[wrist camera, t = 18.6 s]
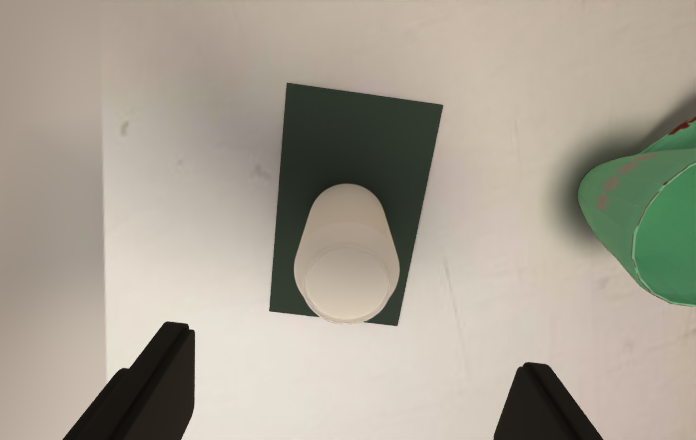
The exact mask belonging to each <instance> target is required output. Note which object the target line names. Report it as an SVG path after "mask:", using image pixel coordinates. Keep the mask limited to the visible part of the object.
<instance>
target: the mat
mask: <svg viewBox="0 0 696 440" xmlns="http://www.w3.org/2000/svg"><path fill="white" fill-rule="evenodd" d="M442 109H443V105H439V104H432V103H425V102H418V101H411V100H404V99H397V98H390V97H383V96H376V95H369V94H362V93H355V92H348V91H341V90H334V89H327V88H320V87H313V86H306V85H298V84H291V83H287V88H286V101H285V114H284V127H283V140H282V153H281V166H280V179H279V192H278V205H277V218H276V231H275V244H274V257H273V270H272V283H271V296H270V309H269V311H271V312H280V313H289V314H297V315H306V316H315V317H319V316H318V315H317V314H316V313H314V312H313V311H312V310H311V308H310V307H309V306H308V304H307V303H306V301H305V298H304V297H303V295H302V294H301V292H300V291H299V289H298V287H297V284H296V281H295V276H294V263H295V258H296V254H297V251H298V248H299V245H300V241H301V238H302V235H303V232H304V229H305V226H306V222H307V219H308V216H309V213H310V210H311V208H312V205H313V203H314V202H315V200H316V199H317V197H318V196H319V195H320V194H321V193H322V192H324V191H325V190H326V189H328V188H330V187H332V186H335V185H339V184H355V185H359V186H362V187H364V188H366V189H368V190H369V191H370V192H372V193H373V194H374V195H375V196H376V197H377V199H378V200H379V202H380V203H381V205H382V208H383V210H384V213H385V216H386V220H387V223H388V226H389V229H390V233H391V236H392V239H393V243H394V246H395V249H396V253H397V256H398V260H399V267H400V272H399V279H398V283H397V285H396V288H395V290H394V292H393V293H392V295H391V296H390V297H389V299H388V301H387V303H386V305H385V306H384V308H383V309H382V310H381V311H380V312H379V313H378V314H377V315H375V316H374V317H372V318H371V319H369V320H367V321H364V322H367V323H375V324H384V325H393V326H397V325H398V320H399V316H400V311H401V306H402V301H403V296H404V292H405V287H406V282H407V277H408V272H409V268H410V263H411V258H412V253H413V248H414V243H415V239H416V234H417V229H418V224H419V219H420V215H421V210H422V205H423V200H424V195H425V190H426V186H427V181H428V176H429V171H430V166H431V162H432V157H433V152H434V147H435V142H436V138H437V133H438V128H439V123H440V118H441V113H442Z"/></svg>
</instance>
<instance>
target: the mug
mask: <svg viewBox="0 0 696 440" xmlns="http://www.w3.org/2000/svg"><path fill="white" fill-rule="evenodd" d="M578 202H579V205H580V208H581V210H582V212H583V214H584V217H585V219H586V221H587V223H588V224H589V226H590V227H591V229H592V230H593V232H594V233H595V235H596V237H597V238H598V239H599V240H600V242H601V243H602V244H603V245H604V246H605V247H606V249H607V250H608V251H609V252H610V253H611V254H612V255H613V256H614V257H616V258H617V260H618V261H619V262H620V263H621V265H622V266H623V267H624V268H625V269H626V271H627V272H628V273H629V274H630V275H631V276H632V277H633V279H634V280H635V281H636V282H637V283H638V284H639V285H640V286H641V287H642V288H643V289H645V290H646V291H648V292H649V293H651V294H652V295H654V296H656V297H658V298H660V299H662V300H664V301H666V302H668V303H670V304H676V305H684V306H691V307H696V117H694V118H692V119H690V120H687V121H685V122H684V123H682V124H681V125H679V126H678V127H677V128H675V129H674V130H672V131H671V132H669V133H668V134H666V135H665V136H663V137H662V138H661V139H659V140H658V141H656V142H655V143H653V144H652V145H650V146H649V147H647V148H646V149H644V150H643V151H642V152H640V153H639V154H637V155H632V156H627V157H622V158H618V159H615V160H612V161H608V162H605V163H602V164H600V165H598V166H596V167H594V168H593V169H592V170H590V171H589V172H588V173H587V174H586V175H585V177H584V178H583V180H582V181H581V183H580V186H579V189H578Z"/></svg>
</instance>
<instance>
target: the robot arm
mask: <svg viewBox="0 0 696 440" xmlns="http://www.w3.org/2000/svg"><path fill="white" fill-rule="evenodd" d="M194 391H195V332H194V330H190V329H189V326H188V324H185V323H176V322H165V323H164V324H163V325H162V327H161V328H160V329H159V330H158V332H157V333H156V334H155V336H154V337H153V338H152V340H151V341H150V342H149V344H148V345H147V346H146V347H145V349H144V350H143V351H142V353H141V354H140V355H139V357H138V358H137V359H136V361H135V362H134V363H133V364H132V366H131V367H130V368H129V369H127V368H122V369H120V370H119V371H118V372H117V373H116V374H115V375H114V376H113V377H112V379H111V380H110V381H109V382H108V384H107V385H106V386H105V387H104V389H103V390H102V391H101V392H100V393H99V395H98V396H97V397H96V399H95V400H94V401H93V402H92V403H91V405H90V406H89V407H88V409H87V410H86V411H85V412H84V413H83V415H82V416H81V417H80V419H79V420H78V421H77V422H76V424H75V425H74V426H73V427H72V428H71V430H70V431H69V432H68V434H67V435H66V436H65V437H64V438H63V440H181V439H182V436H183V434H184V432H185V430H186V428H187V426H188V424H189V421H190V419H191V417H192V414H193V410H194ZM494 440H603V438H602V437H601V436H600V434H599V433H598V432H597V430H596V429H595V427H594V426H593V425H592V423H591V422H590V421H589V419H588V418H587V417H586V415H585V414H584V412H583V411H582V410H581V408H580V407H579V406H578V404H577V403H576V402H575V400H574V399H573V397H572V396H571V395H570V393H569V392H568V391H567V389H566V388H565V387H564V385H563V384H562V382H561V381H560V380H559V378H558V377H557V376H556V374H555V373H554V372H553V370H552V369H551V368H550V367H549V366H548V365H546V364H540V363H531V362H526V363H525V364H524V365H523V367H519V368H518V369H517V372H516V375H515V377H514V380H513V383H512V386H511V389H510V391H509V394H508V397H507V400H506V403H505V405H504V408H503V411H502V414H501V417H500V419H499V422H498V425H497V428H496V431H495V433H494Z"/></svg>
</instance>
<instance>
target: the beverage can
mask: <svg viewBox="0 0 696 440" xmlns="http://www.w3.org/2000/svg"><path fill="white" fill-rule="evenodd" d="M399 272H400V267H399V260H398V256H397V253H396V249H395V246H394V243H393V239H392V236H391V233H390V229H389V226H388V223H387V220H386V216H385V213H384V210H383V208H382V205H381V203H380V202H379V200H378V199H377V197H376V196H375V195H374V194H373V193H372V192H370V191H369V190H368V189H366V188H364V187H362V186H359V185H355V184H339V185H335V186H332V187H330V188H328V189H326V190H325V191H324V192H322V193H321V194H320V195H319V196H318V197H317V199H316V200H315V202H314V203H313V205H312V208H311V210H310V213H309V216H308V219H307V222H306V226H305V229H304V232H303V235H302V238H301V241H300V245H299V248H298V251H297V254H296V258H295V263H294V276H295V281H296V284H297V287H298V289H299V291H300V292H301V294H302V295H303V297H304V298H305V301H306V303H307V304H308V306H309V307H310V308H311V310H312V311H313V312H314V313H316V314H317V315H318V316H319V317H321V318H323V319H325V320H327V321H329V322H332V323H336V324H342V325H351V324H358V323H361V322H364V321H367V320H369V319H371V318H372V317H374V316H375V315H377V314H378V313H379V312H380V311H381V310H382V309H383V308H384V306H385V305H386V303H387V301H388V299H389V297H390V296H391V295H392V293H393V292H394V290H395V288H396V285H397V283H398V279H399Z"/></svg>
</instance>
